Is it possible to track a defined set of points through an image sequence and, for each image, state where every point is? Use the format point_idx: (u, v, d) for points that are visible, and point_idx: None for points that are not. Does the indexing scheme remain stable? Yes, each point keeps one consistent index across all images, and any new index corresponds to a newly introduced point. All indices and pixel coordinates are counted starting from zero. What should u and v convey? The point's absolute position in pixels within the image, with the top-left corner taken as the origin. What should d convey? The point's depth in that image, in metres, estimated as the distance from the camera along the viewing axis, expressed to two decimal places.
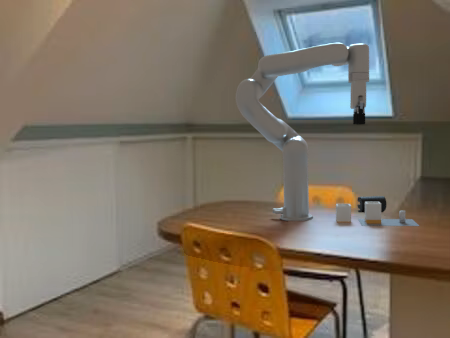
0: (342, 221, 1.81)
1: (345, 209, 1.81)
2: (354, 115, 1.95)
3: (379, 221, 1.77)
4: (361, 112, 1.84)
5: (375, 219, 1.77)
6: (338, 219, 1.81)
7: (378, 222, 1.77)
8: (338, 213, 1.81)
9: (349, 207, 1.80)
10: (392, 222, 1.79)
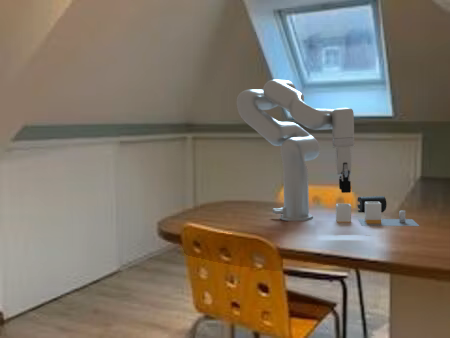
0: (342, 221, 1.81)
1: (345, 209, 1.81)
2: (340, 180, 1.87)
3: (379, 221, 1.77)
4: (346, 180, 1.76)
5: (375, 219, 1.77)
6: (338, 219, 1.81)
7: (378, 222, 1.77)
8: (338, 213, 1.81)
9: (349, 207, 1.80)
10: (392, 222, 1.79)
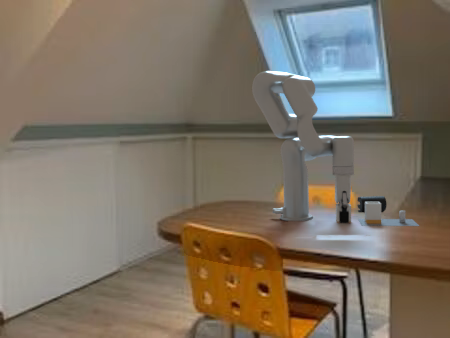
0: None
1: None
2: None
3: (379, 221, 1.77)
4: (344, 211, 1.79)
5: (375, 219, 1.77)
6: (338, 219, 1.81)
7: (378, 222, 1.77)
8: (338, 213, 1.81)
9: (349, 207, 1.80)
10: (392, 222, 1.79)
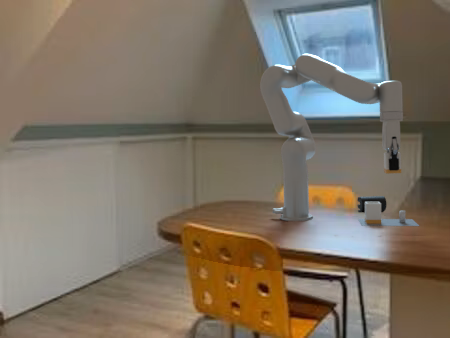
0: None
1: None
2: None
3: (379, 221, 1.77)
4: (394, 158, 1.73)
5: (375, 219, 1.77)
6: (387, 167, 1.75)
7: (378, 222, 1.77)
8: (387, 161, 1.75)
9: (399, 154, 1.74)
10: (392, 222, 1.79)
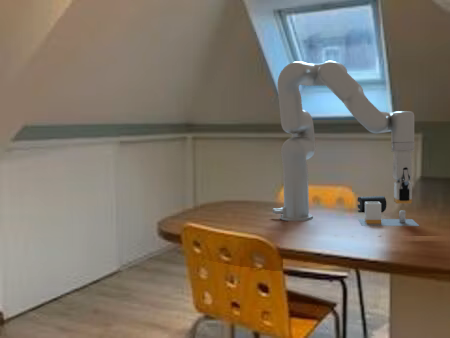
0: None
1: None
2: None
3: (379, 221, 1.77)
4: (405, 189, 1.73)
5: (375, 219, 1.77)
6: (398, 197, 1.76)
7: (378, 222, 1.77)
8: (397, 191, 1.75)
9: (410, 184, 1.75)
10: (392, 222, 1.79)
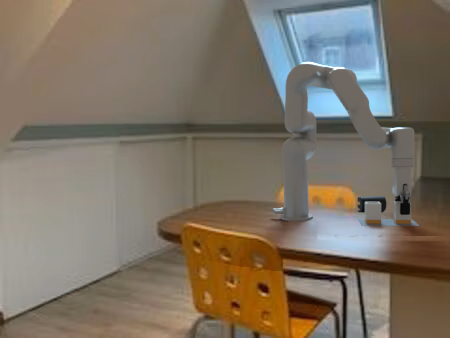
0: (401, 219, 1.76)
1: None
2: (396, 200, 1.82)
3: (379, 221, 1.77)
4: (406, 202, 1.72)
5: (375, 219, 1.77)
6: (397, 217, 1.76)
7: (378, 222, 1.77)
8: (397, 211, 1.76)
9: None
10: (392, 222, 1.79)
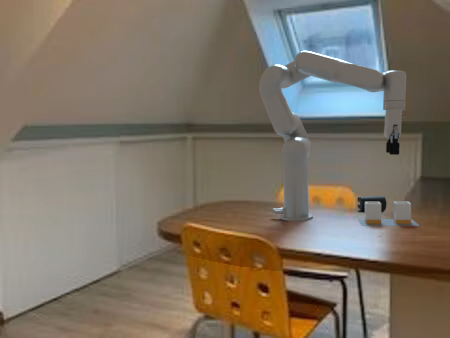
0: (401, 219, 1.76)
1: (404, 206, 1.76)
2: (387, 143, 1.88)
3: (379, 221, 1.77)
4: (395, 142, 1.78)
5: (375, 219, 1.77)
6: (397, 217, 1.76)
7: (378, 222, 1.77)
8: (397, 211, 1.76)
9: (409, 205, 1.75)
10: (392, 222, 1.79)
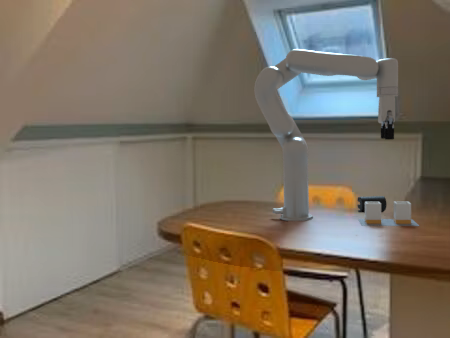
0: (401, 219, 1.76)
1: (404, 206, 1.76)
2: (382, 129, 1.95)
3: (379, 221, 1.77)
4: (390, 127, 1.84)
5: (375, 219, 1.77)
6: (397, 217, 1.76)
7: (378, 222, 1.77)
8: (397, 211, 1.76)
9: (409, 205, 1.75)
10: (392, 222, 1.79)
